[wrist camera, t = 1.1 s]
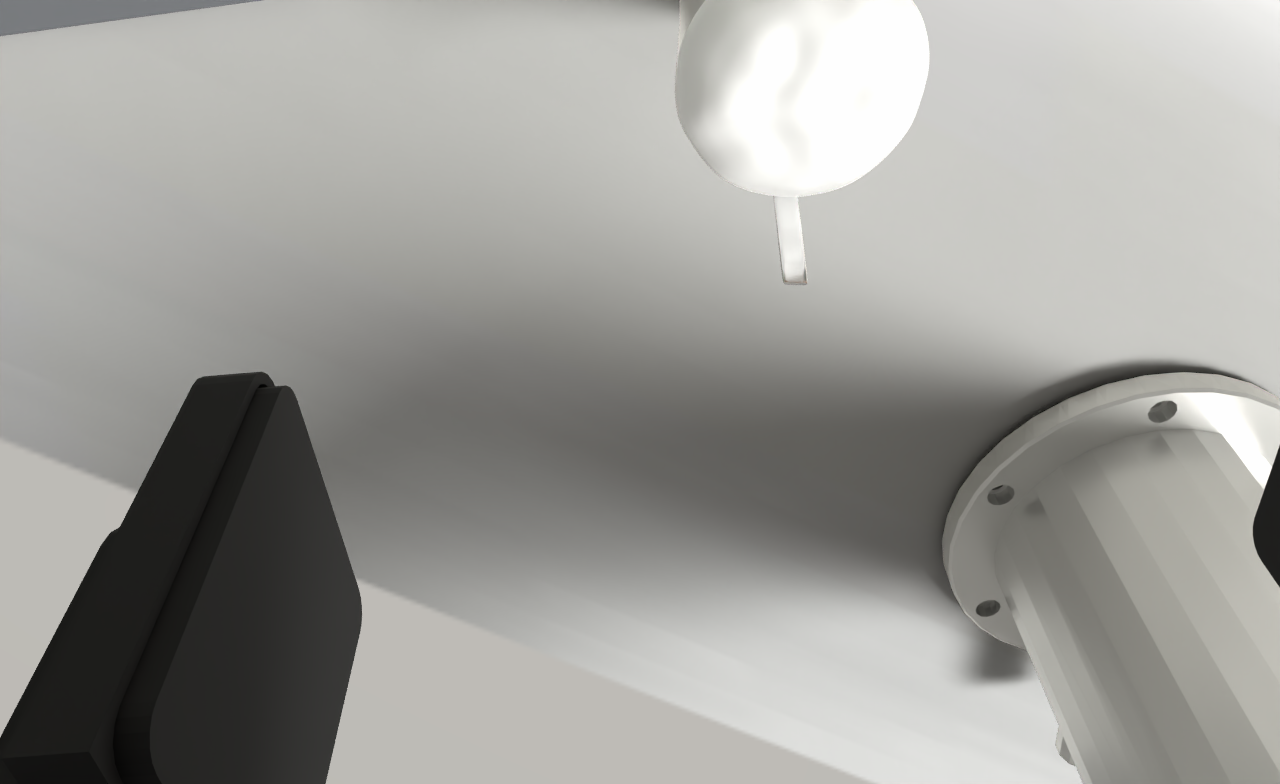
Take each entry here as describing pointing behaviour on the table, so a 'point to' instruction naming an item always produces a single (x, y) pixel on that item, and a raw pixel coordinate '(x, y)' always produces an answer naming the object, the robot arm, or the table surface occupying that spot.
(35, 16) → the mouse pad
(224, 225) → the table surface
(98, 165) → the table surface
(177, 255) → the table surface
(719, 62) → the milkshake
